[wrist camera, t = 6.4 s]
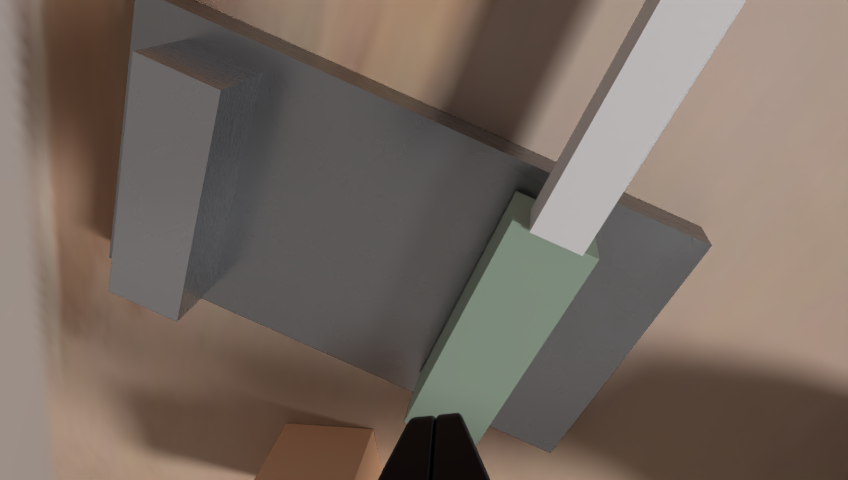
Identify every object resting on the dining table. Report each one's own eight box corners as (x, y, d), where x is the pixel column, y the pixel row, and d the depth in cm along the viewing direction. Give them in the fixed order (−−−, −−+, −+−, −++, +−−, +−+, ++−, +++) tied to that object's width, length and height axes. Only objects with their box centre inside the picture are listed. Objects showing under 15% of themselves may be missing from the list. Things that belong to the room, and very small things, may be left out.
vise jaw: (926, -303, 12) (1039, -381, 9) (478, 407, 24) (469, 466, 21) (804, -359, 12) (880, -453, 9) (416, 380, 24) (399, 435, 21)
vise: (701, 226, 20) (736, 287, 17) (550, 428, 26) (550, 506, 23) (162, -15, 20) (75, -8, 17) (131, 242, 26) (62, 289, 22)
